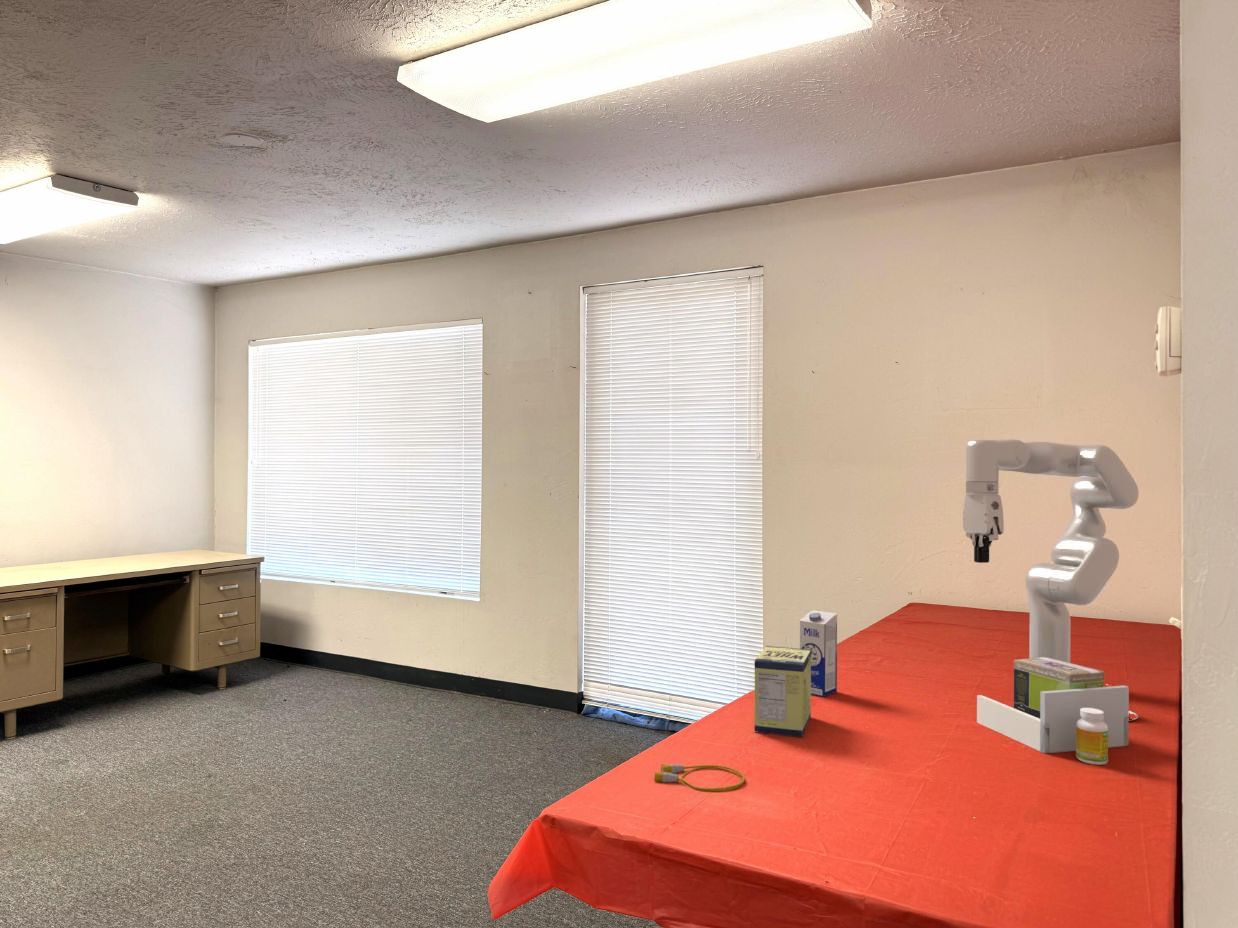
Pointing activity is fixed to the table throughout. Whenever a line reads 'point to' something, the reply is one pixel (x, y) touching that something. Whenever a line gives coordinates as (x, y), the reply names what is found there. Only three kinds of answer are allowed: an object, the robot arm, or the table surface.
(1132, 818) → the table surface
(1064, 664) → the tea box
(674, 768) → the extension cord
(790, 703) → the protein box
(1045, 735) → the display bay
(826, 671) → the milk carton
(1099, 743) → the supplement bottle
